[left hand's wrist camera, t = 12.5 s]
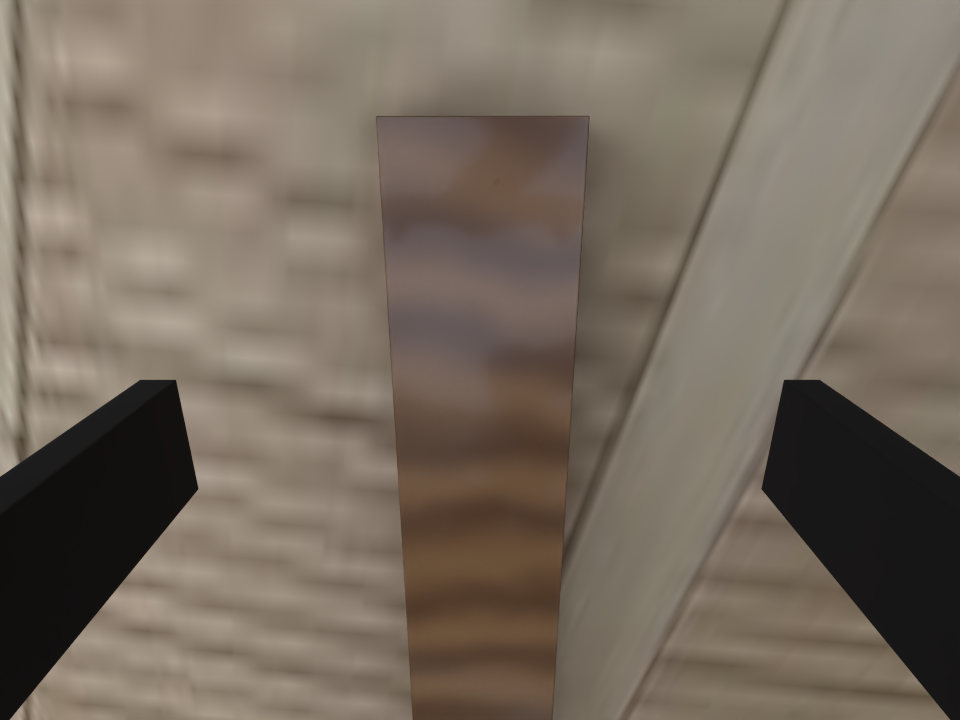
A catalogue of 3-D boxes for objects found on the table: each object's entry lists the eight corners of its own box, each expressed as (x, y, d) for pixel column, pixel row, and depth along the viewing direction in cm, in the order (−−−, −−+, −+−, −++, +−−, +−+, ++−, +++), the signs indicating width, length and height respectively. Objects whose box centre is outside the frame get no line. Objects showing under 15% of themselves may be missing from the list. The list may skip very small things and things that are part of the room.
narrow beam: (395, 121, 32) (375, 116, 26) (569, 121, 32) (589, 115, 26) (428, 786, 52) (422, 868, 46) (535, 786, 52) (543, 868, 46)
